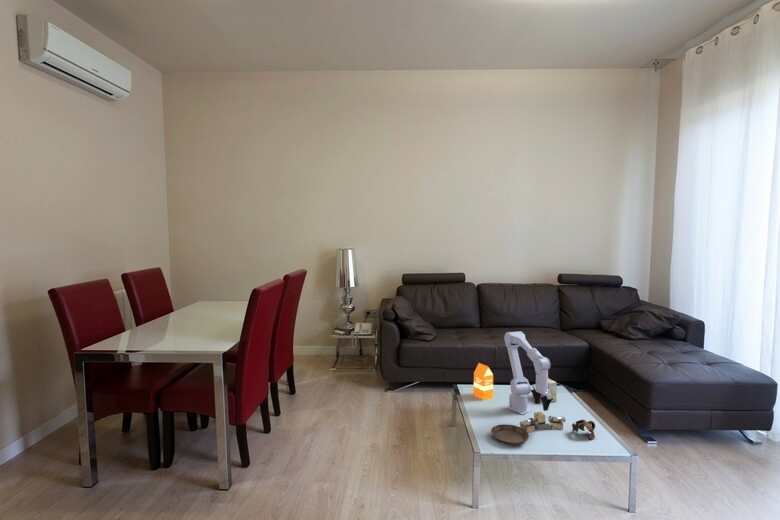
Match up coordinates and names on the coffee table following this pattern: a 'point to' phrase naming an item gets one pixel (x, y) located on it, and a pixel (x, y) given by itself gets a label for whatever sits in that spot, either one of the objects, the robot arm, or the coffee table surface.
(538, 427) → the cradle
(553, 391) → the box
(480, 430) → the coffee table surface
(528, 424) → the shaft
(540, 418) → the block
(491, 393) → the orange juice
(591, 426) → the pottery mug
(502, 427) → the plant saucer
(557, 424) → the shaft
